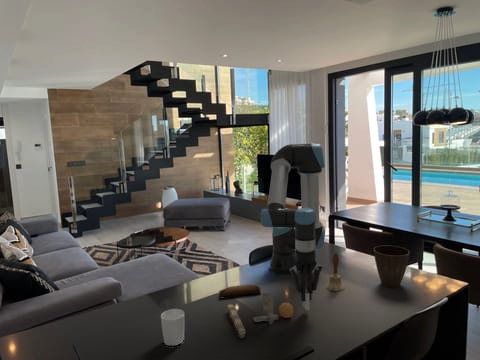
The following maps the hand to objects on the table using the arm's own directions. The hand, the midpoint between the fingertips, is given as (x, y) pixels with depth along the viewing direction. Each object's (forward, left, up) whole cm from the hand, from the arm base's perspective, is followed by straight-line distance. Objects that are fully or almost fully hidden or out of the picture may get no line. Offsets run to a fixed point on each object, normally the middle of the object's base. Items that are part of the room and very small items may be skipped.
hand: (306, 308), depth 140 cm
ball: (+1, -8, +1) cm, 9 cm away
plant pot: (-13, +47, -2) cm, 49 cm away
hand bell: (-18, +22, -2) cm, 29 cm away
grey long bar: (0, -28, -2) cm, 28 cm away
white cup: (+5, -51, -2) cm, 51 cm away
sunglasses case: (-26, -21, -3) cm, 33 cm away
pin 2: (+3, -16, -2) cm, 16 cm away
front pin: (+1, -12, -1) cm, 12 cm away
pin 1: (-3, -16, -2) cm, 16 cm away
